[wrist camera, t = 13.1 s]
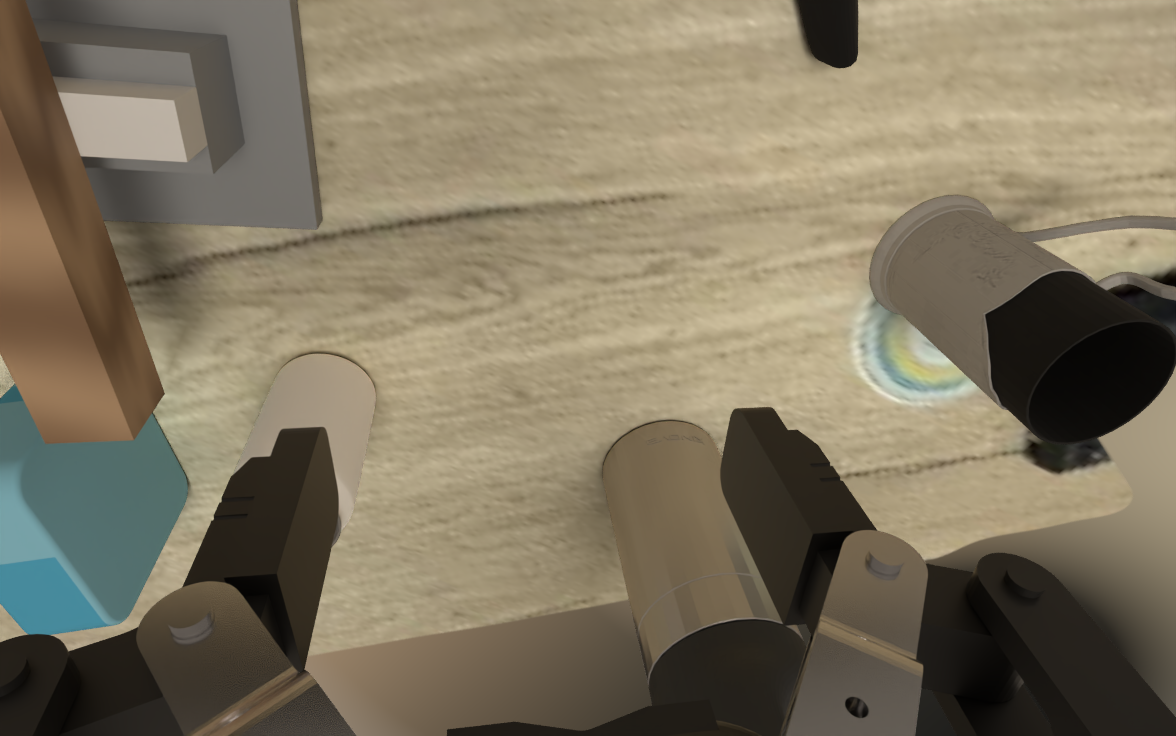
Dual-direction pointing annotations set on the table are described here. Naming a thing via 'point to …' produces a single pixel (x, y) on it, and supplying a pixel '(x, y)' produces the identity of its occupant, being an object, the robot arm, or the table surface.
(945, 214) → the grey black mug
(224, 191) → the stand
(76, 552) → the data package
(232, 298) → the table surface
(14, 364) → the walnut bar
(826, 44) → the electric trimmer
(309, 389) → the can
